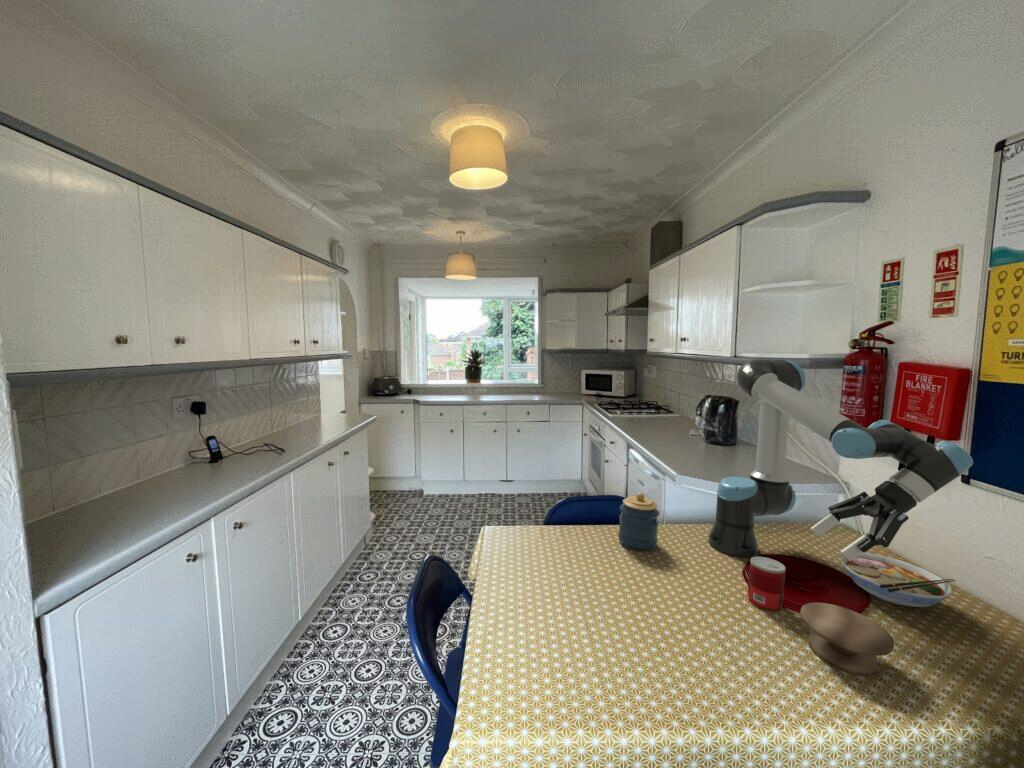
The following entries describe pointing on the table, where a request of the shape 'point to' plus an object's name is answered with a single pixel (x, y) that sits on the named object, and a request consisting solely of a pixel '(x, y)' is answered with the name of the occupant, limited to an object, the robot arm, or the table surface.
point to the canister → (638, 523)
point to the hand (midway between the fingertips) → (828, 543)
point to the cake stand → (845, 638)
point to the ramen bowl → (896, 580)
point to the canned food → (766, 583)
